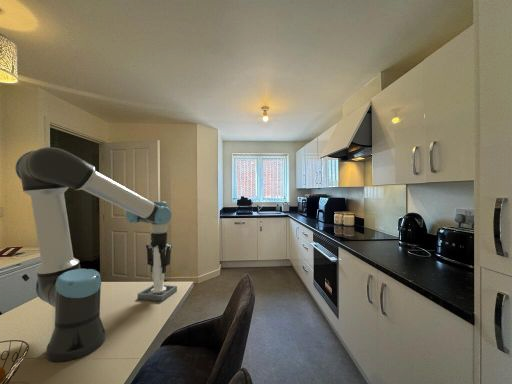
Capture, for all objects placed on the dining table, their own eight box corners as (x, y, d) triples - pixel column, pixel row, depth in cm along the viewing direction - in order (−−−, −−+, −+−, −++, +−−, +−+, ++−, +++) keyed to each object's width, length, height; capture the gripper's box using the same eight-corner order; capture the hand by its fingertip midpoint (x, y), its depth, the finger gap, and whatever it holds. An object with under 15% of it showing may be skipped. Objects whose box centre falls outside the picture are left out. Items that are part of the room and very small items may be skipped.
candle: (162, 293, 111) (162, 241, 112) (148, 293, 111) (147, 241, 112) (168, 287, 118) (168, 238, 119) (154, 287, 118) (154, 239, 119)
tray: (161, 301, 107) (162, 296, 107) (137, 299, 110) (137, 293, 110) (176, 291, 120) (177, 286, 120) (154, 288, 122) (154, 284, 123)
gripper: (178, 231, 118) (177, 278, 117) (149, 230, 121) (148, 275, 120) (169, 233, 110) (169, 283, 110) (139, 232, 114) (138, 280, 113)
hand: (158, 279), depth 115 cm, fingers closed on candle, 3 cm apart
